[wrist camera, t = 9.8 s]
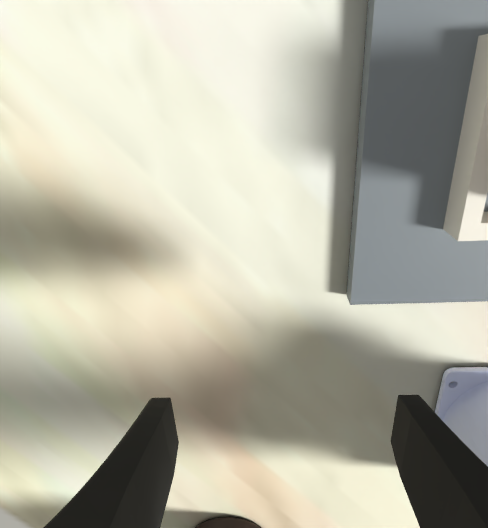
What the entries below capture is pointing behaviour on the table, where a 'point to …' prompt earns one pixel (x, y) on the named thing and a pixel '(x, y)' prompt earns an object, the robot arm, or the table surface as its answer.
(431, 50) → the holder
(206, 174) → the table surface
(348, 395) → the table surface
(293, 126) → the table surface
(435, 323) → the table surface
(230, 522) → the bottle
